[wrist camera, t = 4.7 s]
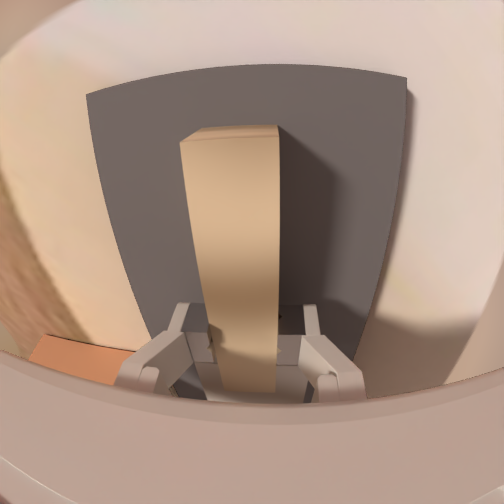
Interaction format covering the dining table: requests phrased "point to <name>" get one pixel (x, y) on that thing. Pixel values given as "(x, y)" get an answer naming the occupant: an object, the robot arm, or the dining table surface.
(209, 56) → the dining table surface
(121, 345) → the dining table surface
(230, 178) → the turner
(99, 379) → the tile
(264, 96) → the mat
